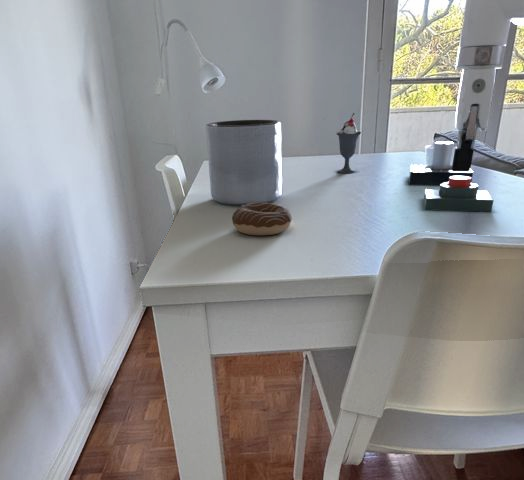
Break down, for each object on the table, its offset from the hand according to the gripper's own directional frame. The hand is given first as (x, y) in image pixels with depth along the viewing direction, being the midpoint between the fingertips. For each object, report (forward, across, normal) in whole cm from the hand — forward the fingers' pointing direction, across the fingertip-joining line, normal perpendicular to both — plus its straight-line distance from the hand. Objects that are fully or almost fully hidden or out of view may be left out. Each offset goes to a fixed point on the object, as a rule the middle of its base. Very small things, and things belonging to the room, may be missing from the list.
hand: (460, 170), depth 91 cm
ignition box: (+7, 0, 0) cm, 7 cm away
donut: (+7, -23, +34) cm, 41 cm away
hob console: (+7, +26, +2) cm, 27 cm away
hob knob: (+4, +26, +2) cm, 26 cm away
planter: (+7, +1, +44) cm, 44 cm away
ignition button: (+3, 0, 0) cm, 3 cm away
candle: (+7, +40, +1) cm, 41 cm away
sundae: (+7, +39, +26) cm, 47 cm away
